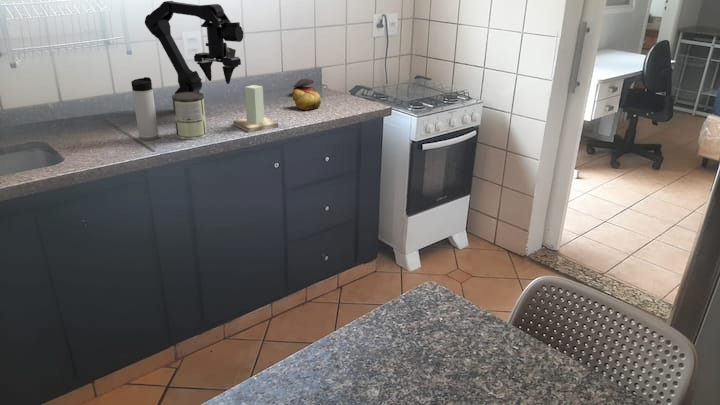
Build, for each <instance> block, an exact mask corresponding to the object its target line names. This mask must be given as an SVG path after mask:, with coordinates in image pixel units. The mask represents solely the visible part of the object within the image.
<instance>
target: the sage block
mask: <svg viewBox="0 0 720 405" xmlns="http://www.w3.org/2000/svg"><path fill="white" fill-rule="evenodd" d="M244 94H245V95H244V96H245V97H244V98H245V111H246V112H245V113H246V118H247V122H249V123H254V124H258V123H261V122H264V117H265V109H264V108H265V106H264V103H265V102H264V86H263V85H262V86H261V85H257V84H251V85H248V86H244Z"/></svg>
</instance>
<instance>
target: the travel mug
mask: <svg viewBox="0 0 720 405" xmlns="http://www.w3.org/2000/svg"><path fill="white" fill-rule="evenodd" d="M153 89H154V88H153V84H152V79H151V78H150V77H146V76H145V77H141V78H135V79H134V80H132V81H131V90H132V98H133V105H134V111H135V118H136V125H137V132H138V138H139V140H141V141H149V142H150V141H155V140H157V139H158V138H160V137H159V130H158V129H159V128H158V122H157V120H158V119H157V113H156V105H155V99H154V98H155V97H154V91H153Z"/></svg>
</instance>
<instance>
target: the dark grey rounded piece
mask: <svg viewBox="0 0 720 405" xmlns="http://www.w3.org/2000/svg"><path fill="white" fill-rule="evenodd" d="M314 82H315V81H314V79H311V78H302V79H300V80H298V81H297V82H296V83H294V85H292V86H293V91H294V90H295V89H298V90H301V91H304V92H306V91H315V92H316V88H315V87H313V86H310V85H312V84H314Z"/></svg>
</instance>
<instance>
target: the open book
mask: <svg viewBox="0 0 720 405" xmlns="http://www.w3.org/2000/svg"><path fill="white" fill-rule="evenodd" d="M233 125H234V126H236V127H238V128H240V129H241V130H244V131H246V132H248V133H252V132H257V131H263V130H268V129H269V130H270V129H275V128H279V122H277V121H275V120H272V119H270V118H268V117H266V116H264V122H261V123H258V124H254V123H249V122H247V117H246V118H242V119H241V118H239V119H234V120H233Z"/></svg>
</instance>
